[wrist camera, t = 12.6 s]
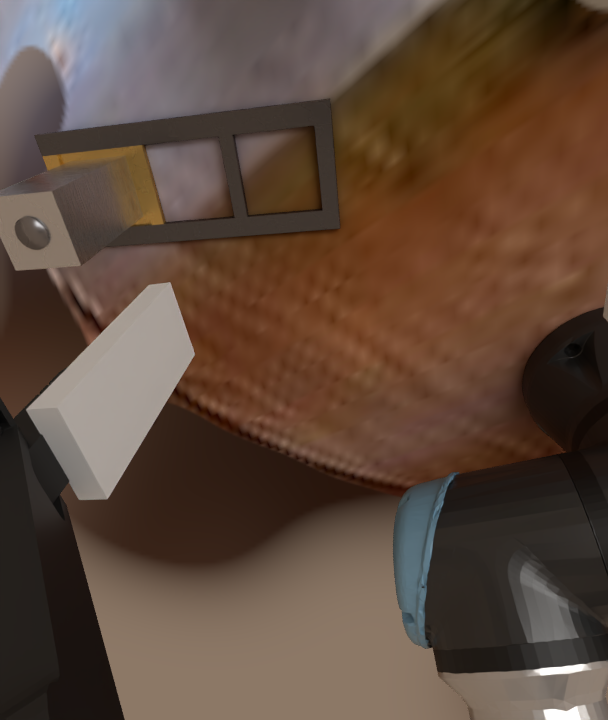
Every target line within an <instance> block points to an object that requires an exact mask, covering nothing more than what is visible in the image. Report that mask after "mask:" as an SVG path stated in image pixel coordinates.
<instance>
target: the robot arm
mask: <svg viewBox="0 0 608 720" xmlns="http://www.w3.org/2000/svg"><path fill="white" fill-rule="evenodd" d="M194 355H195V353H194V350H193V347H192V344H191V341H190V339H189V336H188V333H187V330H186V327H185V324H184V321H183V318H182V315H181V312H180V309H179V307H178V304H177V301H176V298H175V295H174V292H173V289H172V286H171V283H170V282H169V283H162V284H154V285H148V286H147V287H146V288H145V289H144V290H143V291H142V292H141V293H140V295H139V296H138V297H137V298H136V299H135V300H134V301H133V302H132V303H131V304H130V305H129V306H128V307H127V308H126V309H125V310H124V311H123V312H122V313H121V314H120V315H119V316H118V317H117V318H116V319H115V320H114V321H113V322H112V323H111V324H110V325H109V326H108V327H107V328H106V329H105V330H104V331H103V332H102V333H101V334H100V335H99V336H98V337H97V338H96V339H95V340H94V341H93V342H92V343H91V344H90V345H89V346H88V347H87V348H86V349H85V350H84V351H83V352H82V353H81V354H80V355H79V356H78V357H77V359H75V361H73V363H72V364H71V365H70V366H68V367H67V368H65V369H64V370H62V371H61V372H59V373H58V374H57V376H55V377H54V378H53V379H52V381H50V383H49V385H47V386H45V388H43V390H41V392H40V395H37V396H36V397H35V398H34V399H33V400H32V401H31V402H30V403H29V404H28V405H27V406H26V407H25V408H24V409H23V410H22V411H21V412H20V413H19V414H18V415H17V416H16V417H15V418H14V419H13V418H12V416H11V414H10V413H9V411H8V410H7V408H6V406H5V405H4V403H3V402H2V400H1V398H0V720H125V719H124V716H123V712H122V708H121V705H120V701H119V697H118V694H117V690H116V686H115V682H114V679H113V675H112V672H111V668H110V664H109V661H108V657H107V653H106V650H105V646H104V642H103V638H102V635H101V631H100V627H99V623H98V620H97V616H96V612H95V609H94V605H93V601H92V598H91V594H90V590H89V587H88V583H87V579H86V575H85V572H84V568H83V565H82V561H81V557H80V554H79V550H78V546H77V542H76V539H75V535H74V531H73V528H72V524H71V520H70V516H69V513H68V509H67V505H66V504H65V502H64V500H63V499H62V497H61V496H60V493H61V492H62V490H63V489H64V488H65V486H66V485H67V484H68V482H69V483H70V485H71V487H72V489H73V490H74V492H75V493H76V495H77V497H78V499H79V500H92V499H108V497H109V496H110V494H111V492H112V491H113V489H114V487H115V486H116V484H117V482H118V481H119V479H120V477H121V476H122V474H123V473H124V471H125V469H126V468H127V466H128V464H129V463H130V461H131V459H132V458H133V456H134V454H135V453H136V451H137V449H138V448H139V446H140V444H141V443H142V441H143V440H144V438H145V436H146V434H147V433H148V431H149V430H150V428H151V426H152V425H153V423H154V421H155V420H156V418H157V416H158V415H159V413H160V411H161V410H162V408H163V406H164V405H165V403H166V401H167V400H168V398H169V397H170V395H171V393H172V392H173V390H174V388H175V387H176V385H177V383H178V382H179V380H180V378H181V377H182V375H183V373H184V372H185V370H186V368H187V367H188V365H189V363H190V362H191V360H192V359H193V357H194ZM522 389H523V396H524V399H525V402H526V404H527V406H528V409H529V411H530V413H531V416H532V418H533V419H534V421H535V422H536V424H537V425H538V426H539V428H540V429H541V430H542V431H543V432H544V433H546V434H547V435H548V436H549V437H551V438H552V439H553V440H554V441H555V442H556V443H557V444H558V445H559V446H561V447H562V448H563V449H564V450H565V451H566V452H567V453H562V454H556V455H552V456H547V457H542V458H537V459H532V460H527V461H522V462H517V463H512V464H507V465H502V466H497V467H492V468H487V469H482V470H477V471H472V472H467V473H462V474H460V473H459V472H453V473H450V474H449V475H448V476H447V477H444V478H440V479H436V480H432V481H428V482H424V483H420V484H417V485H414V486H412V487H411V488H409V489H408V490H407V491H406V492H405V493H404V495H403V496H402V498H401V500H400V503H399V505H398V509H397V513H396V517H395V524H394V535H393V536H394V537H393V558H394V559H393V561H394V575H395V584H396V593H397V600H398V604H399V608H400V609H401V610H402V618H403V624H404V627H405V630H406V633H407V635H408V637H409V638H410V640H411V641H412V642H413V643H414V644H416V645H419V646H422V647H423V648H425V649H428V648H433V651H434V655H435V661H436V666H437V671H438V676H439V677H440V678H441V679H442V680H443V681H444V682H445V683H446V684H447V685H449V686H450V687H451V688H452V689H453V690H454V691H455V692H456V693H457V694H459V695H460V696H461V697H462V699H463V700H464V702H465V703H466V704H467V706H468V710H469V715H470V720H608V703H607V700H606V697H605V696H606V691H607V687H608V286H607V293H606V299H605V306H604V307H603V308H599V309H596V310H593V311H590V312H587V313H585V314H582V315H580V316H578V317H576V318H574V319H572V320H570V321H568V322H566V323H565V324H563V325H562V326H560V327H559V328H557V329H556V330H555V331H553V332H552V333H551V334H550V335H549V336H547V337H546V338H545V339H544V340H543V341H542V342H541V344H540V345H539V346H538V347H537V348H536V350H535V351H534V352H533V354H532V356H531V357H530V359H529V361H528V363H527V365H526V368H525V371H524V375H523V382H522Z"/></svg>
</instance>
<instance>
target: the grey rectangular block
mask: <svg viewBox="0 0 608 720" xmlns="http://www.w3.org/2000/svg"><path fill="white" fill-rule="evenodd" d="M142 217H143V213H142V210H141V206H140V203H139V200H138V196H137V193H136V190H135V186H134V183H133V180H132V176H131V173H130V170H129V166H128V163H127V160H126V156H125V155H124V156H115V157H106V158H97V159H88V160H79V161H70V162H67V163H65V164H63V165H60V166H58V167H55V168H53V169H51V170H48V171H46V172H43V173H41V174H39V175H36V176H34V177H32V178H29V179H27V180H24V181H22V182H20V183H17V184H15V185H12V186H10V187H8V188H5V189H3V190H1V191H0V238H1V240H2V242H3V244H4V246H5V248H6V251H7V253H8V255H9V257H10V259H11V261H12V263H13V265H14V267H15V270H17V271H18V270H31V269H45V268H59V267H73V266H82V265H83V264H84V263H85V262H87V261H88V260H89V259H90V258H92V257H93V256H94V255H95V254H97V253H98V252H99V251H100V250H102V249H103V248H104V247H105V246H107V245H108V244H109V243H110V242H112V241H113V240H114V239H116V238H117V237H118V236H119V235H121V234H122V233H123V232H124V231H126V230H127V229H128V228H129V227H131V226H132V225H133V224H134V223H136V222H137V221H138V220H139V219H141V218H142Z"/></svg>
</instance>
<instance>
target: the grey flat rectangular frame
mask: <svg viewBox="0 0 608 720" xmlns="http://www.w3.org/2000/svg"><path fill="white" fill-rule="evenodd" d="M305 126H314V127H315V137H316V147H317V158H318V168H319V178H320V189H321V199H322V209H315V210H303V211H292V212H280V213H268V214H257V215H248V209H247V204H246V198H245V193H244V187H243V182H242V176H241V171H240V165H239V159H238V154H237V148H236V143H235V137H234V135H235V134H244V133H252V132H261V131H270V130H279V129H287V128H296V127H305ZM217 136H219V141H220V146H221V151H222V156H223V161H224V166H225V171H226V176H227V181H228V186H229V191H230V196H231V201H232V207H233V212H234V216H233V217H222V218H210V219H198V220H187V221H175V222H166V221H165V218H164V214H163V210H162V207H161V203H160V200H159V196H158V192H157V189H156V185H155V181H154V178H153V174H152V171H151V167H150V163H149V160H148V156H147V152H146V149H145V145H147V144H156V143H165V142H173V141H182V140H191V139H200V138H208V137H217ZM35 139H36V141H37V144H38V146H39V149H40V152H41V154H42V157H43V159H44V162H45V164H46V167H47V170H51V169H53V168H55V167H58V166H60V165H63V164H65V163H67V162H70V161H79V160H88V159H97V158H106V157H115V156H124V155H125V156H126V160H127V163H128V166H129V170H130V173H131V176H132V180H133V183H134V186H135V190H136V193H137V196H138V200H139V203H140V206H141V210H142V213H143V217H142V218H141V219H139V220H138V221H137V222H136V223H134V224H133V225H132V226H131V227H129V228H128V229H127V230H126V231H124V232H123V233H122V234H121V235H119V236H118V237H117V238H116V239H114V240H113V241H112V242H110V243H109V244H108V245H107V246H105V247H110V246H123V245H136V244H148V243H161V242H174V241H187V240H199V239H212V238H225V237H237V236H250V235H263V234H275V233H288V232H301V231H313V230H326V229H339V228H340V217H339V204H338V191H337V179H336V166H335V153H334V141H333V128H332V115H331V103H330V99H323V100H315V101H307V102H299V103H290V104H282V105H274V106H266V107H258V108H250V109H241V110H233V111H225V112H217V113H209V114H200V115H192V116H184V117H176V118H168V119H160V120H151V121H143V122H135V123H127V124H119V125H111V126H102V127H94V128H86V129H78V130H70V131H62V132H53V133H45V134H38V135H35Z"/></svg>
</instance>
